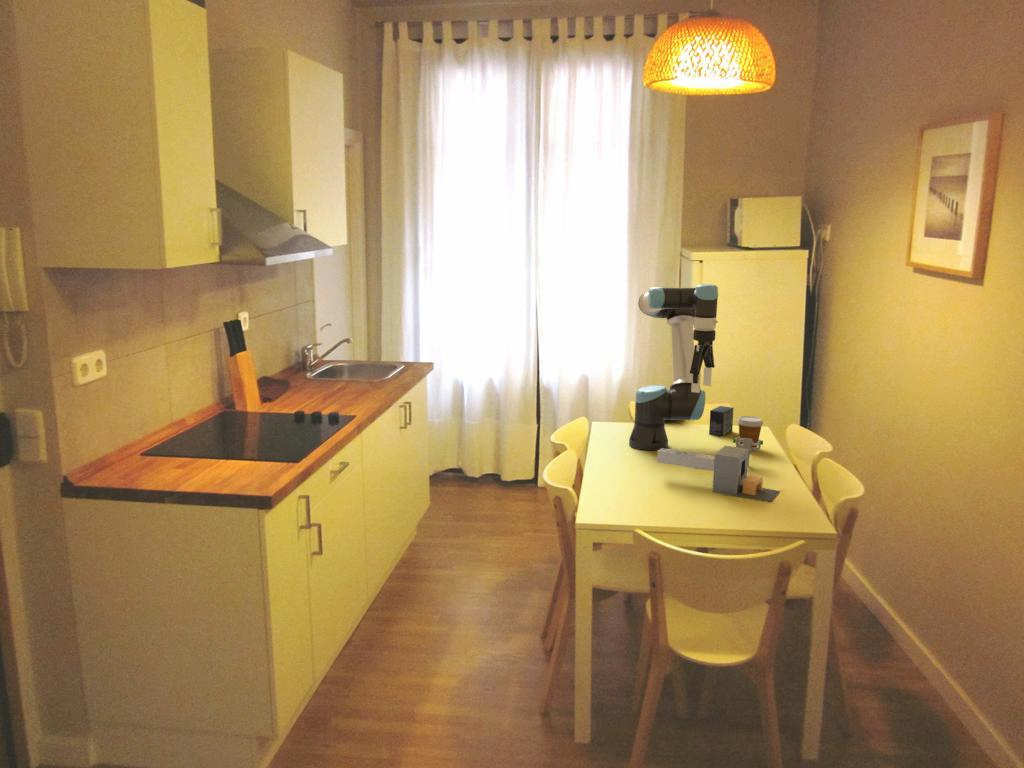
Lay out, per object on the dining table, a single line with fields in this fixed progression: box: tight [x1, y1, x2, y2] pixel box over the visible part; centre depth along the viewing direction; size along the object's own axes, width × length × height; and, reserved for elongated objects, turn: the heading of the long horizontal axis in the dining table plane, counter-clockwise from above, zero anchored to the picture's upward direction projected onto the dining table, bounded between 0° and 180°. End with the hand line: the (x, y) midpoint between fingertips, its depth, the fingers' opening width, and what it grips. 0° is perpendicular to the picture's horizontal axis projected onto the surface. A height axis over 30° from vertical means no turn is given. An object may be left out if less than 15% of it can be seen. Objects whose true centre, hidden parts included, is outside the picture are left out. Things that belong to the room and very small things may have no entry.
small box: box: [708, 405, 734, 437], centre depth 351 cm, size 11×6×10 cm, turn 144°
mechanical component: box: [732, 436, 764, 466], centre depth 306 cm, size 3×10×10 cm, turn 78°
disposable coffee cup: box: [737, 415, 764, 452], centre depth 328 cm, size 10×10×12 cm
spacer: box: [743, 474, 764, 495], centre depth 278 cm, size 4×7×4 cm, turn 145°
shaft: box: [656, 448, 715, 472], centre depth 285 cm, size 26×4×4 cm, turn 61°
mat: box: [737, 487, 781, 503], centre depth 276 cm, size 12×12×1 cm
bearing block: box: [712, 445, 749, 498], centre depth 280 cm, size 8×12×13 cm, turn 151°
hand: (701, 388), depth 299 cm, fingers open, 13 cm apart
